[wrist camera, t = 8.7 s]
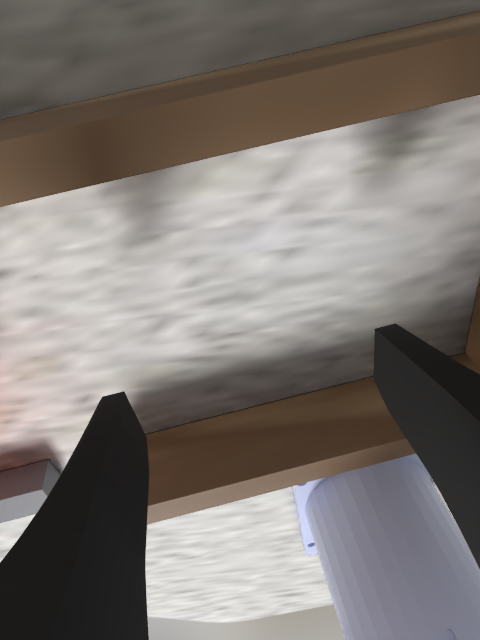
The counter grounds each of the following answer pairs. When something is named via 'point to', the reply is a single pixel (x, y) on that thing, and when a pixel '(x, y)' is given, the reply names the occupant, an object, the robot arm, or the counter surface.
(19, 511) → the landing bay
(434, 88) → the brown wooden frame
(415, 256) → the counter surface
